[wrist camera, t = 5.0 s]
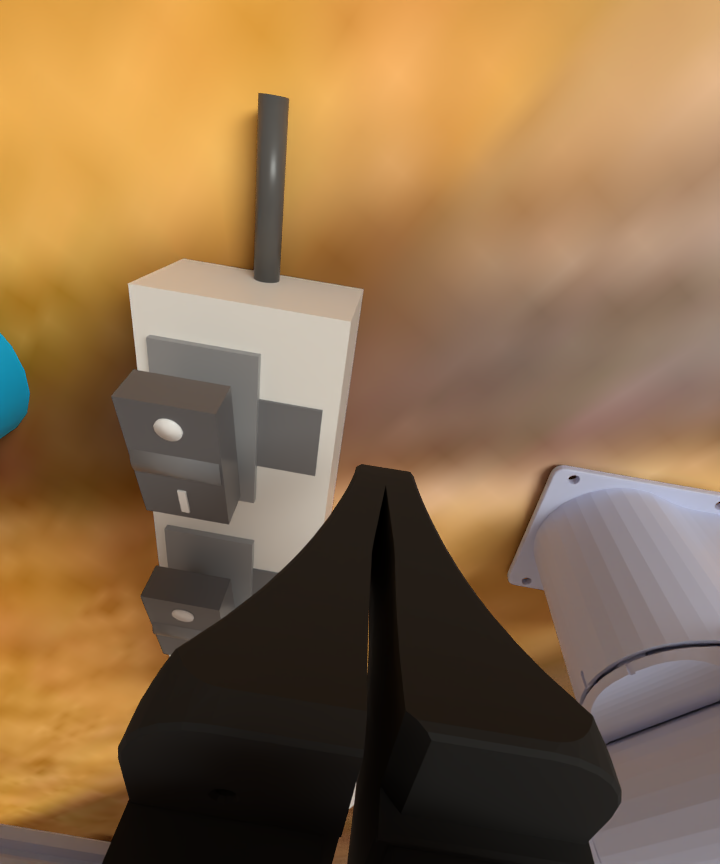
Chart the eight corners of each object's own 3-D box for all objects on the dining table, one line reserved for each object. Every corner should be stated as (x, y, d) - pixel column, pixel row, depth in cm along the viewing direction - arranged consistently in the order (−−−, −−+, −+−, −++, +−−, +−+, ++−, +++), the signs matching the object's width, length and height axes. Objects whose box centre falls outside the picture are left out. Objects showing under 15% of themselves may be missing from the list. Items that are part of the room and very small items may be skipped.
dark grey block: (232, 382, 15) (213, 418, 14) (242, 492, 19) (227, 528, 18) (136, 365, 15) (107, 400, 14) (164, 478, 19) (144, 514, 18)
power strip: (388, 116, 17) (379, 104, 12) (307, 681, 34) (292, 752, 30) (170, 80, 17) (91, 57, 13) (201, 661, 34) (172, 729, 30)
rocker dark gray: (232, 574, 20) (217, 615, 19) (239, 632, 24) (227, 669, 22) (158, 561, 20) (137, 600, 19) (177, 621, 24) (161, 657, 23)
